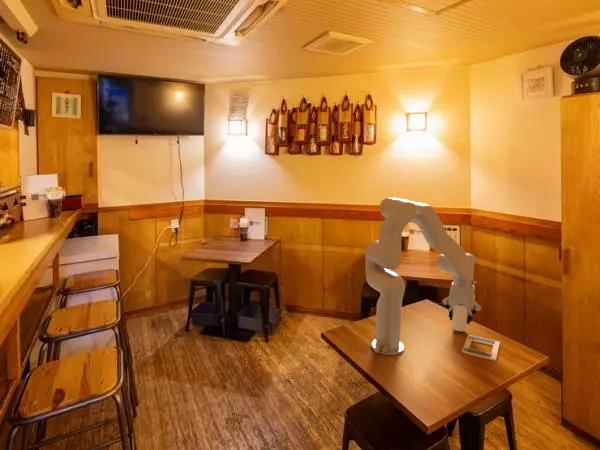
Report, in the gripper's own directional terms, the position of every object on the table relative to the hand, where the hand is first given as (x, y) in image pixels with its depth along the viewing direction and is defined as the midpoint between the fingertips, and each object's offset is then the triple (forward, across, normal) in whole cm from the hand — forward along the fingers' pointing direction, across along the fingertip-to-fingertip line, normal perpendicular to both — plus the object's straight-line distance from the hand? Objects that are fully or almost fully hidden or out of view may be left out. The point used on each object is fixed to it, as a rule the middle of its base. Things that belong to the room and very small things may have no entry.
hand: (459, 320), depth 165 cm
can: (+4, 0, 0) cm, 4 cm away
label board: (+5, -10, +10) cm, 15 cm away
